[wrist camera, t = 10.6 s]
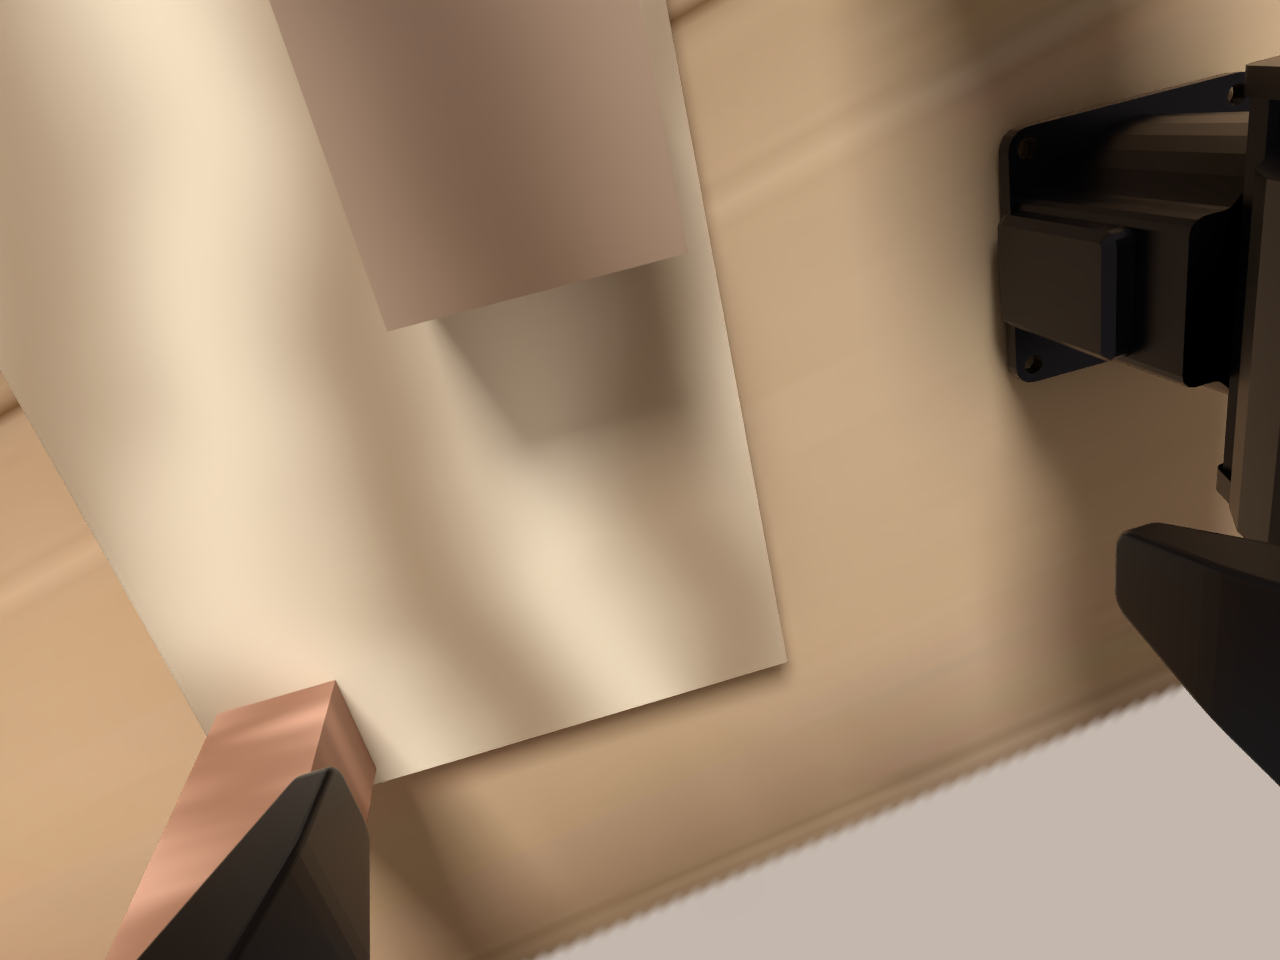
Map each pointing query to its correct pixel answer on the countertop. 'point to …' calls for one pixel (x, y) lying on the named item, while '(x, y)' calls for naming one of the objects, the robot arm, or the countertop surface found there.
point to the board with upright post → (351, 432)
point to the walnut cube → (486, 143)
